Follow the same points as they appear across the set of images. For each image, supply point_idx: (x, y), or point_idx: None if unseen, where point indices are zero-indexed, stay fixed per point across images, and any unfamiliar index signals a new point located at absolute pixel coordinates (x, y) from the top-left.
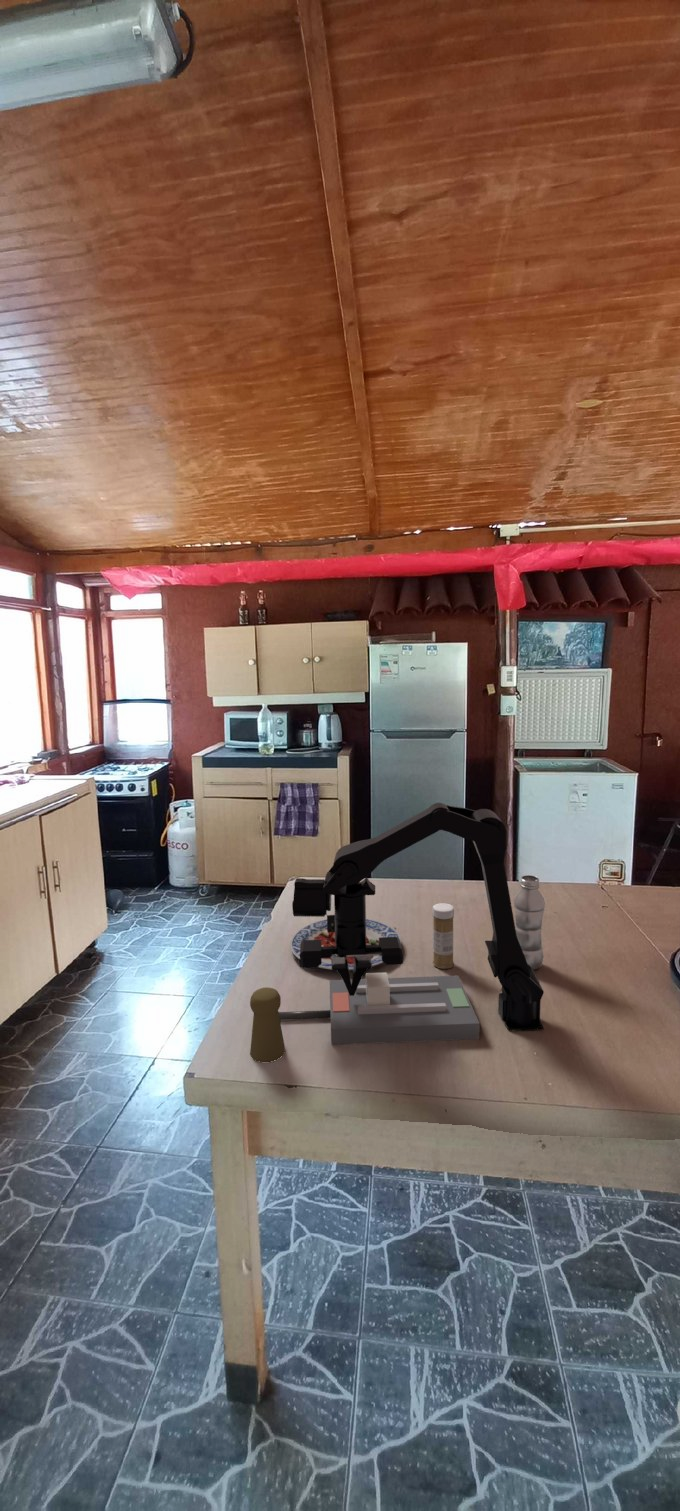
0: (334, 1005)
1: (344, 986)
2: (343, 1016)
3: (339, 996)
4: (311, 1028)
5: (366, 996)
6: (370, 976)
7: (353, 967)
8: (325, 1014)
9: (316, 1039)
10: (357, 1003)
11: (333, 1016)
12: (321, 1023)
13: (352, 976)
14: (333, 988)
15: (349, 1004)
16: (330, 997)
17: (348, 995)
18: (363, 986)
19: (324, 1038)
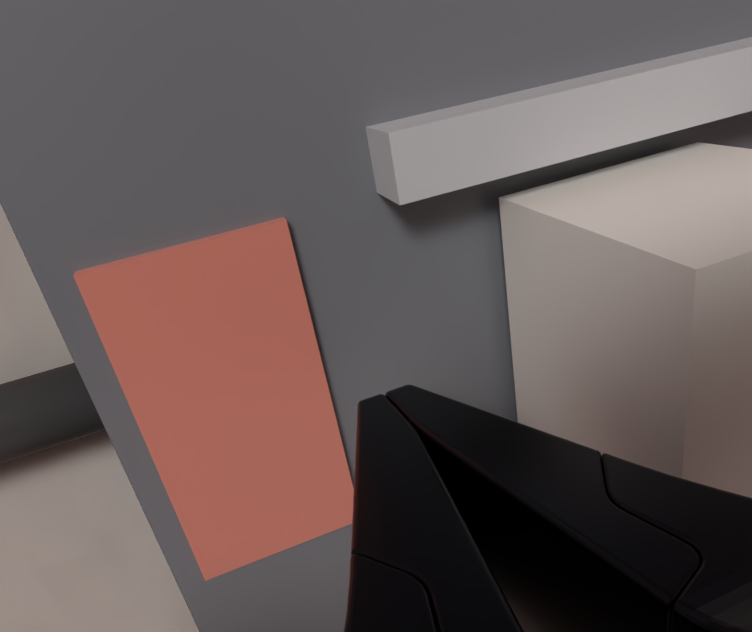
0: (190, 499)
1: (193, 44)
2: (316, 585)
3: (198, 330)
4: (8, 540)
5: (494, 237)
6: (746, 350)
7: (644, 621)
8: (84, 435)
9: (109, 623)
10: (415, 381)
11: (227, 621)
12: (71, 460)
13: (503, 510)
14: (33, 124)
15: (340, 420)
16: (77, 352)
17: (298, 263)
18: (492, 144)
19: (166, 594)
